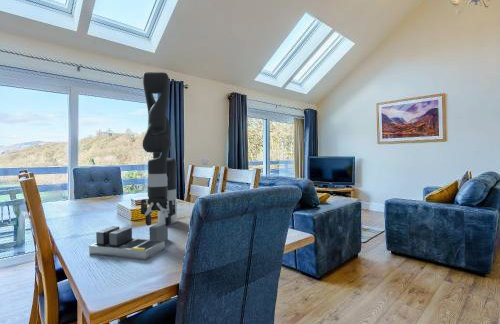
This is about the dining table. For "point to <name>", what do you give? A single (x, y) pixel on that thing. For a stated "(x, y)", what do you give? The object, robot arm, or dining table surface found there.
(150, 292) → the dining table surface
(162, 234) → the grey block
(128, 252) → the rack
